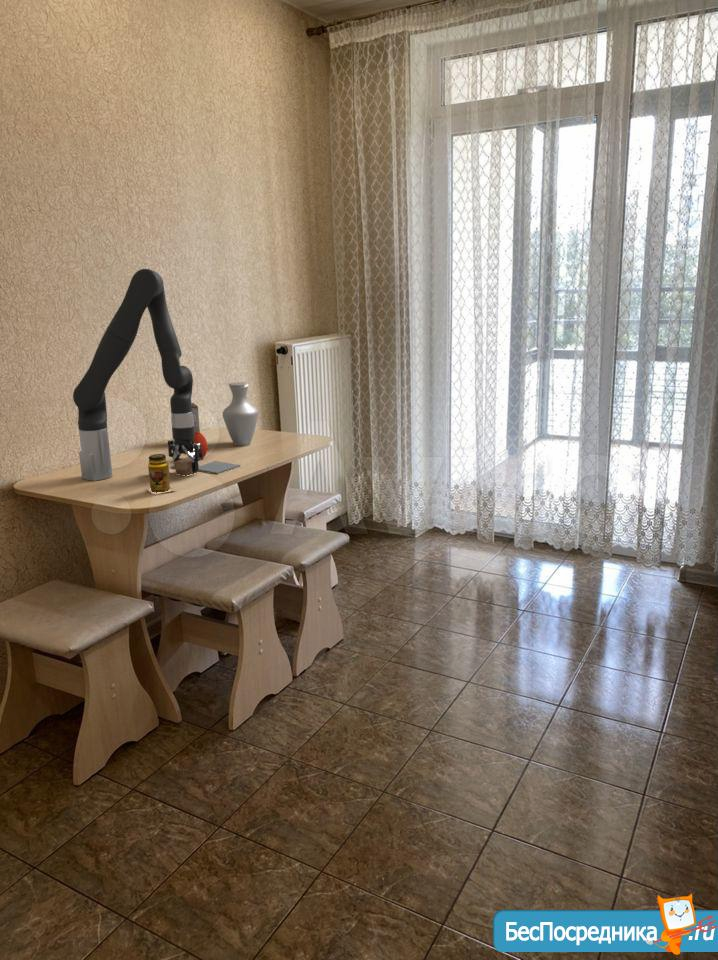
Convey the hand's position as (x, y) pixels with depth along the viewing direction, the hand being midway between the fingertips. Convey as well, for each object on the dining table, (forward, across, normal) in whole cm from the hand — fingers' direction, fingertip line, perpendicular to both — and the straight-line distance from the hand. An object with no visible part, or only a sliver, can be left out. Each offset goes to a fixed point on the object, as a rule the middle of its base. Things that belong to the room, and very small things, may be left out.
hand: (186, 470), depth 250 cm
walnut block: (+1, 0, 0) cm, 1 cm away
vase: (+1, -13, +45) cm, 47 cm away
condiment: (+1, +7, -19) cm, 20 cm away
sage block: (+1, -7, -6) cm, 10 cm away
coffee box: (+1, -33, +36) cm, 49 cm away
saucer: (+1, -8, +8) cm, 11 cm away
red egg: (+1, -12, +18) cm, 22 cm away
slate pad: (+1, +4, +11) cm, 12 cm away
